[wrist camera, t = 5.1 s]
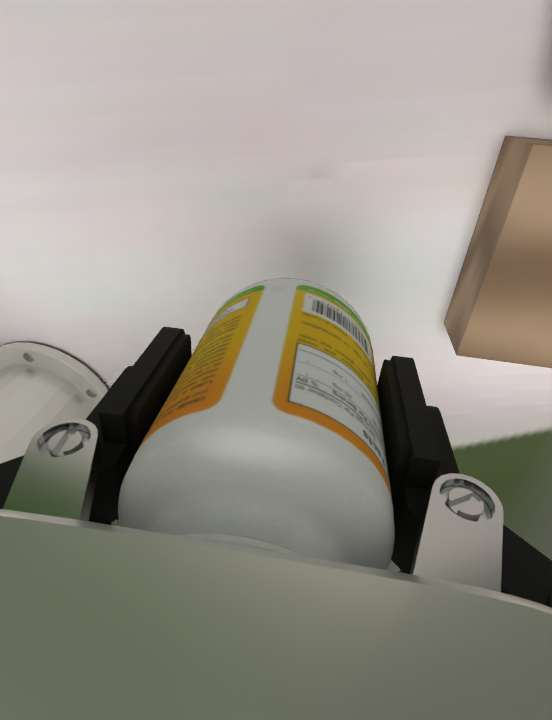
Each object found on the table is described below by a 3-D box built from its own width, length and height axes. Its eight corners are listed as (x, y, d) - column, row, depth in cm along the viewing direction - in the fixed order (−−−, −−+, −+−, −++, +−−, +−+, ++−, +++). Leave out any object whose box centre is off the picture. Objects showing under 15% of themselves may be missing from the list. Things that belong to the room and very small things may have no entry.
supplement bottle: (219, 411, 16) (88, 753, 8) (198, 273, 13) (-48, 581, 5) (366, 418, 15) (398, 804, 7) (378, 273, 12) (456, 636, 4)
